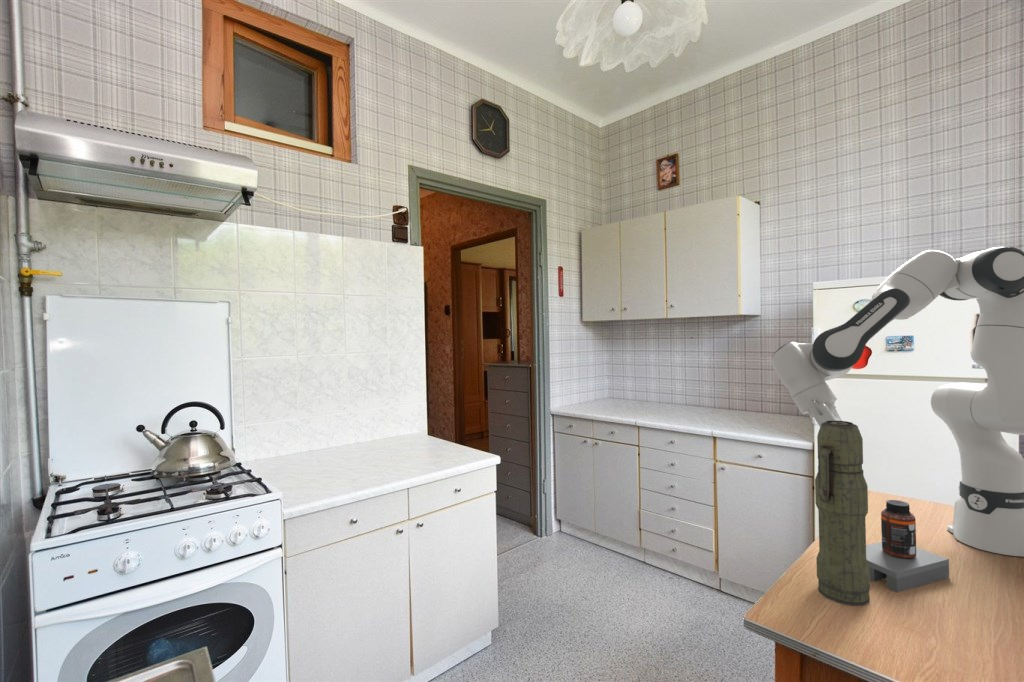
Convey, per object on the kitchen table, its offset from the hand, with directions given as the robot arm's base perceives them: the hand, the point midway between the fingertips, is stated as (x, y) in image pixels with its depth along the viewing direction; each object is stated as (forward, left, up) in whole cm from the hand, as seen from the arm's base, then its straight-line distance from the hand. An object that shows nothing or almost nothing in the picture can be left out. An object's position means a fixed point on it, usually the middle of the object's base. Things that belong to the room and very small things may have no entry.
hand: (848, 451), depth 118 cm
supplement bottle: (+2, +13, -20) cm, 24 cm away
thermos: (+22, +15, -24) cm, 36 cm away
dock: (+4, +13, -24) cm, 27 cm away
